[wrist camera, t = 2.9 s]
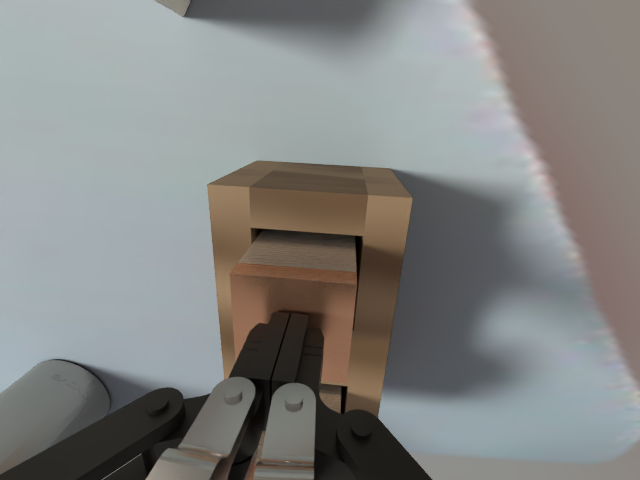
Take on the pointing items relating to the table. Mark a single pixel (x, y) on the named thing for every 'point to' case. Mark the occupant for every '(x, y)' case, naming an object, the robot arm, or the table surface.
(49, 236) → the table surface
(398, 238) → the walnut block
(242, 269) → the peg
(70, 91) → the table surface
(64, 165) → the table surface
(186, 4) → the ink cartridge box
